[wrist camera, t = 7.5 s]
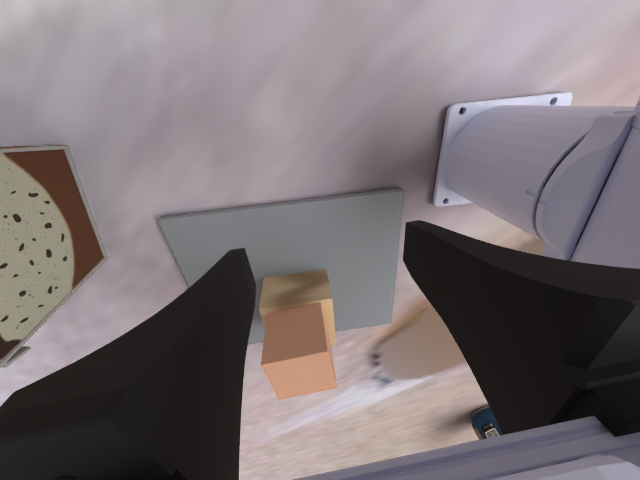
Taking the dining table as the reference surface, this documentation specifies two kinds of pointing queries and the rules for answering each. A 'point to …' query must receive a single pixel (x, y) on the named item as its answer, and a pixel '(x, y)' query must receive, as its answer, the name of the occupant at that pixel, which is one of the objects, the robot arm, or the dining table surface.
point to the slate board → (303, 248)
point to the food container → (41, 240)
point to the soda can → (485, 423)
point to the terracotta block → (298, 352)
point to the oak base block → (298, 295)
